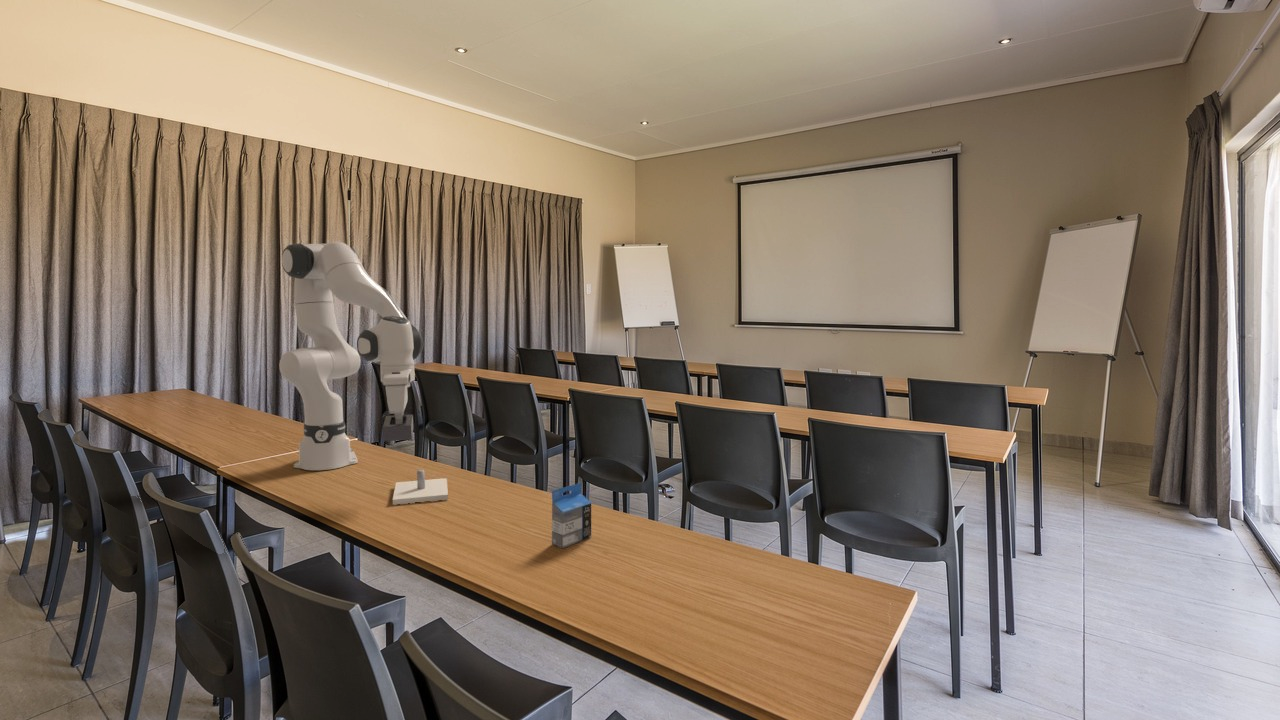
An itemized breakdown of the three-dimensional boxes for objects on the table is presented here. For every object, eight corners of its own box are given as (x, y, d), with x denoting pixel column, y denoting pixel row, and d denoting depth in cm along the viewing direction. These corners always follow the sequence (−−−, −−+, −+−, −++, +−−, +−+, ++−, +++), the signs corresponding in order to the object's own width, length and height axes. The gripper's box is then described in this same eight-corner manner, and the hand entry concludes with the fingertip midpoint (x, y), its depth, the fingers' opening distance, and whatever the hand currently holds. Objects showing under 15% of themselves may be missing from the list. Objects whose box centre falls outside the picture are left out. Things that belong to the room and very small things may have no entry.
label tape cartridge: (562, 549, 133) (562, 494, 132) (551, 544, 135) (550, 491, 134) (592, 537, 139) (592, 485, 138) (580, 533, 142) (580, 482, 141)
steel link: (386, 429, 169) (386, 415, 169) (413, 427, 172) (412, 414, 171) (383, 441, 160) (382, 426, 159) (411, 439, 162) (411, 425, 161)
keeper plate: (396, 487, 175) (395, 465, 175) (446, 483, 180) (446, 461, 179) (392, 505, 160) (392, 481, 160) (448, 499, 165) (447, 476, 164)
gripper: (388, 371, 177) (390, 417, 178) (382, 379, 158) (384, 431, 159) (411, 370, 179) (413, 416, 180) (407, 378, 159) (409, 430, 161)
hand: (399, 423), depth 169 cm, fingers closed on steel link, 2 cm apart
